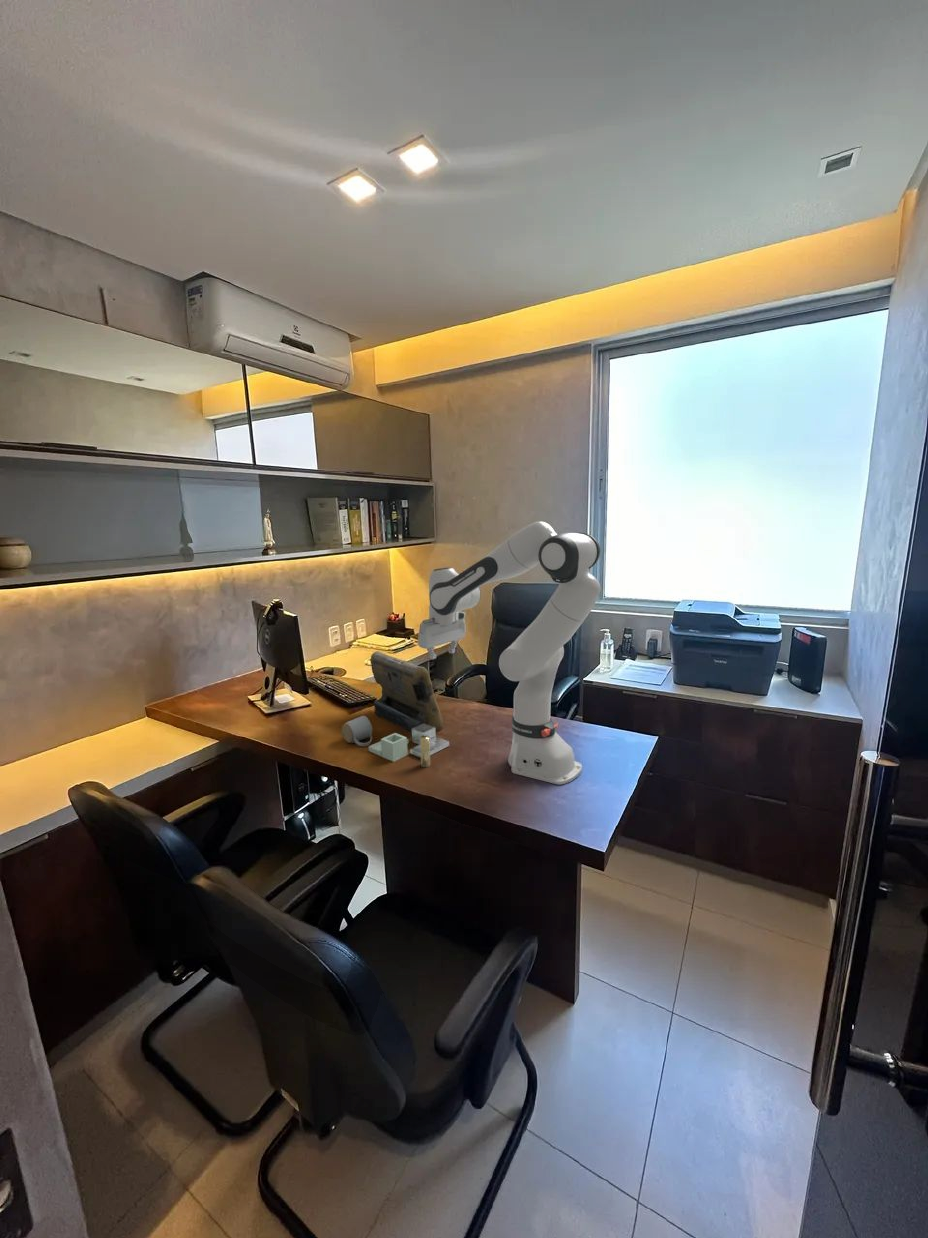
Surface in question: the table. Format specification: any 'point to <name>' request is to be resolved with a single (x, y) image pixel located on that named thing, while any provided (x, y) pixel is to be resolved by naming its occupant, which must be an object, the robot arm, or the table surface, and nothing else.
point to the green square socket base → (391, 747)
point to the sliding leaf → (435, 742)
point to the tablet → (405, 693)
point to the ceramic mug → (357, 731)
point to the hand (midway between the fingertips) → (442, 655)
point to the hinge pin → (425, 751)
